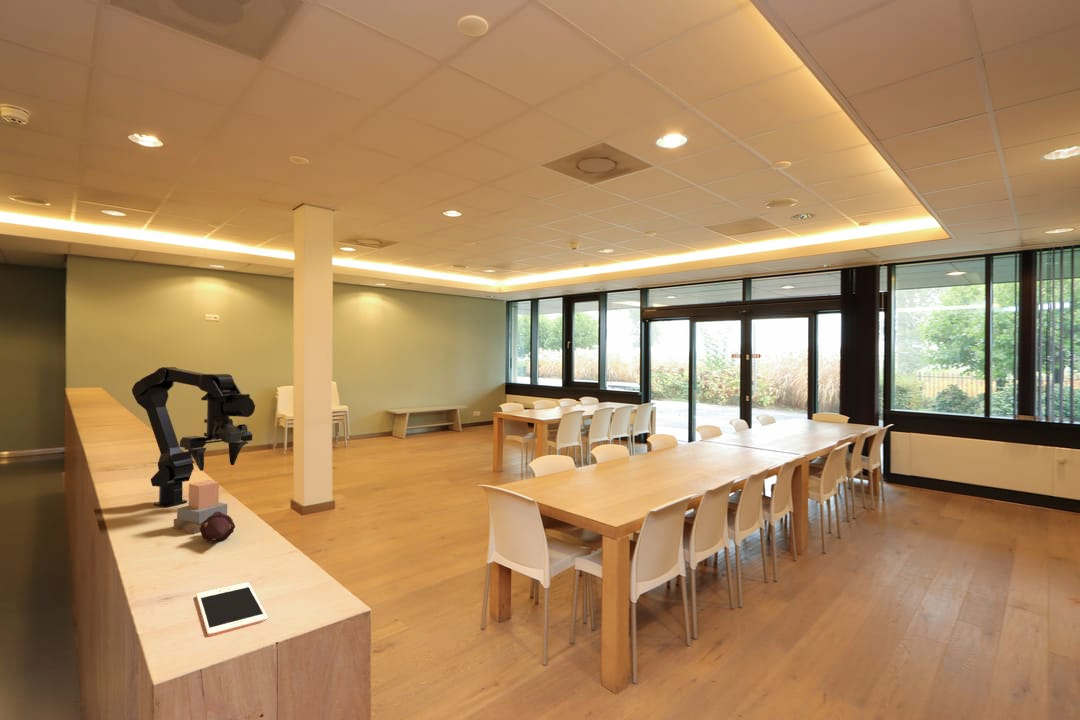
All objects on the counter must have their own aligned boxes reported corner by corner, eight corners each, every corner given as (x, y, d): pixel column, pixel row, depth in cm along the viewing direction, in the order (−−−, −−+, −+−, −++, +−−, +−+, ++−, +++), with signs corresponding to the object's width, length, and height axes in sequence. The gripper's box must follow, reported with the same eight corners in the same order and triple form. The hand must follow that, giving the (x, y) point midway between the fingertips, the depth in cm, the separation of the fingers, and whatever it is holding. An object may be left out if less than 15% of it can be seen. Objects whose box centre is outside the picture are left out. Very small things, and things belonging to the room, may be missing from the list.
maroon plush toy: (242, 519, 124) (234, 510, 136) (206, 516, 120) (202, 506, 132) (233, 549, 122) (226, 537, 134) (197, 547, 118) (193, 535, 130)
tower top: (177, 519, 135) (177, 508, 135) (205, 511, 142) (206, 500, 142) (199, 523, 132) (199, 512, 132) (227, 515, 140) (227, 503, 140)
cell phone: (248, 586, 103) (248, 581, 103) (268, 623, 89) (268, 617, 89) (195, 598, 98) (196, 593, 98) (207, 639, 84) (207, 633, 84)
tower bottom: (173, 530, 135) (173, 519, 135) (208, 521, 143) (208, 510, 143) (194, 536, 131) (194, 524, 131) (228, 526, 140) (228, 515, 140)
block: (188, 506, 137) (188, 483, 137) (208, 501, 141) (208, 480, 141) (198, 509, 135) (199, 486, 135) (218, 504, 139) (218, 482, 139)
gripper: (203, 420, 142) (202, 476, 142) (264, 414, 159) (263, 465, 159) (179, 417, 147) (178, 472, 147) (241, 412, 164) (240, 461, 164)
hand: (217, 467), depth 154 cm, fingers open, 9 cm apart
